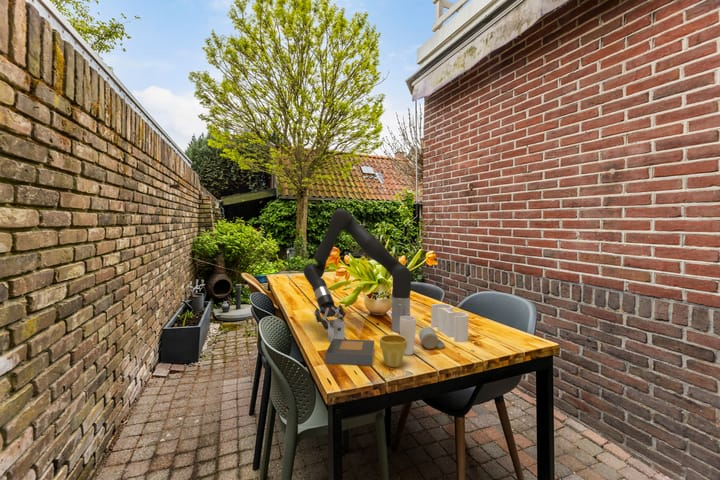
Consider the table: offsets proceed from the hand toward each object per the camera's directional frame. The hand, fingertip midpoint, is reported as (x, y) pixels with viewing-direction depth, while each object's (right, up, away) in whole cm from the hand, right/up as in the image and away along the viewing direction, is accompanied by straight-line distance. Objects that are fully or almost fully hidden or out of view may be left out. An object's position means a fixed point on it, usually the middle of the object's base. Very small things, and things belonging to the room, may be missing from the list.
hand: (335, 327), depth 147 cm
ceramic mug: (+43, -7, -6) cm, 44 cm away
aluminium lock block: (0, -6, 0) cm, 6 cm away
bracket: (+56, -7, +12) cm, 58 cm away
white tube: (+31, -7, -13) cm, 35 cm away
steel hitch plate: (+8, -7, -17) cm, 20 cm away
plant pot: (+24, -8, -24) cm, 35 cm away
